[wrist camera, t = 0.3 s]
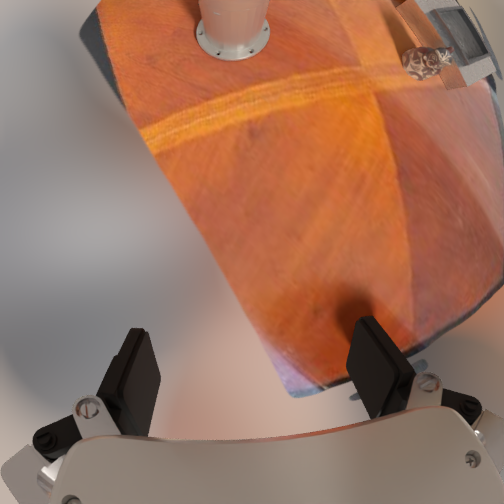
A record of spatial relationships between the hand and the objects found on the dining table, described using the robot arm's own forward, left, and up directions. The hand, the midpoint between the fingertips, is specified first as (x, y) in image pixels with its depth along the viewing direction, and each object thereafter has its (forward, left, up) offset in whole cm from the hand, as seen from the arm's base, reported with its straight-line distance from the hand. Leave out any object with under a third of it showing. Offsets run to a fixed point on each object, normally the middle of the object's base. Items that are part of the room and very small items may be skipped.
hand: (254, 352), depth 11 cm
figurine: (-6, +48, -37) cm, 61 cm away
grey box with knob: (-10, +63, -37) cm, 74 cm away
